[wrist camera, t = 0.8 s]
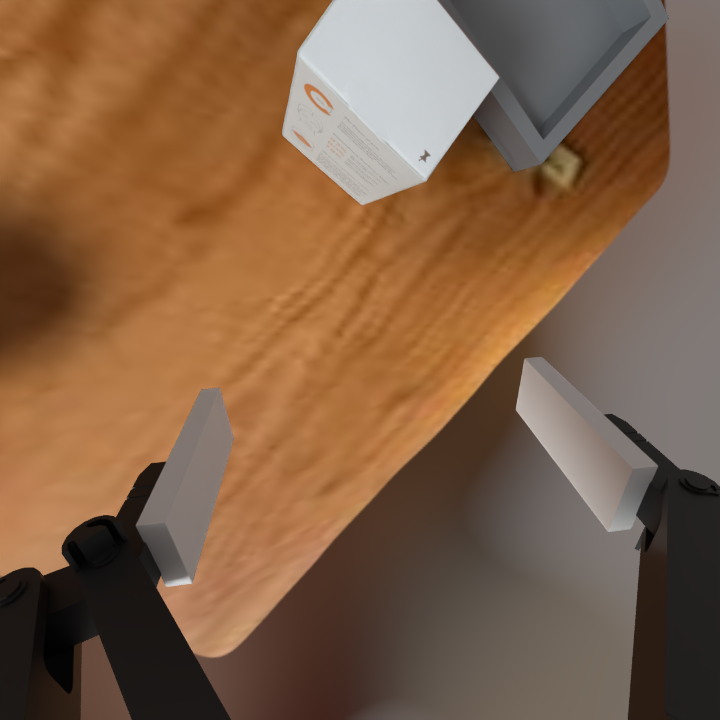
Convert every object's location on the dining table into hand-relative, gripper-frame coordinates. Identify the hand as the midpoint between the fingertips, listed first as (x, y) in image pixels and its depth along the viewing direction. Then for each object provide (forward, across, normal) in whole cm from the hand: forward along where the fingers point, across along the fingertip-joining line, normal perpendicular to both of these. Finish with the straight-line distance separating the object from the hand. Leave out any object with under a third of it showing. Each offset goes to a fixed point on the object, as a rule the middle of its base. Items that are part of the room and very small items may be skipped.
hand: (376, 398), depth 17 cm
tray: (+24, +16, +17) cm, 34 cm away
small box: (+21, +1, +10) cm, 23 cm away
